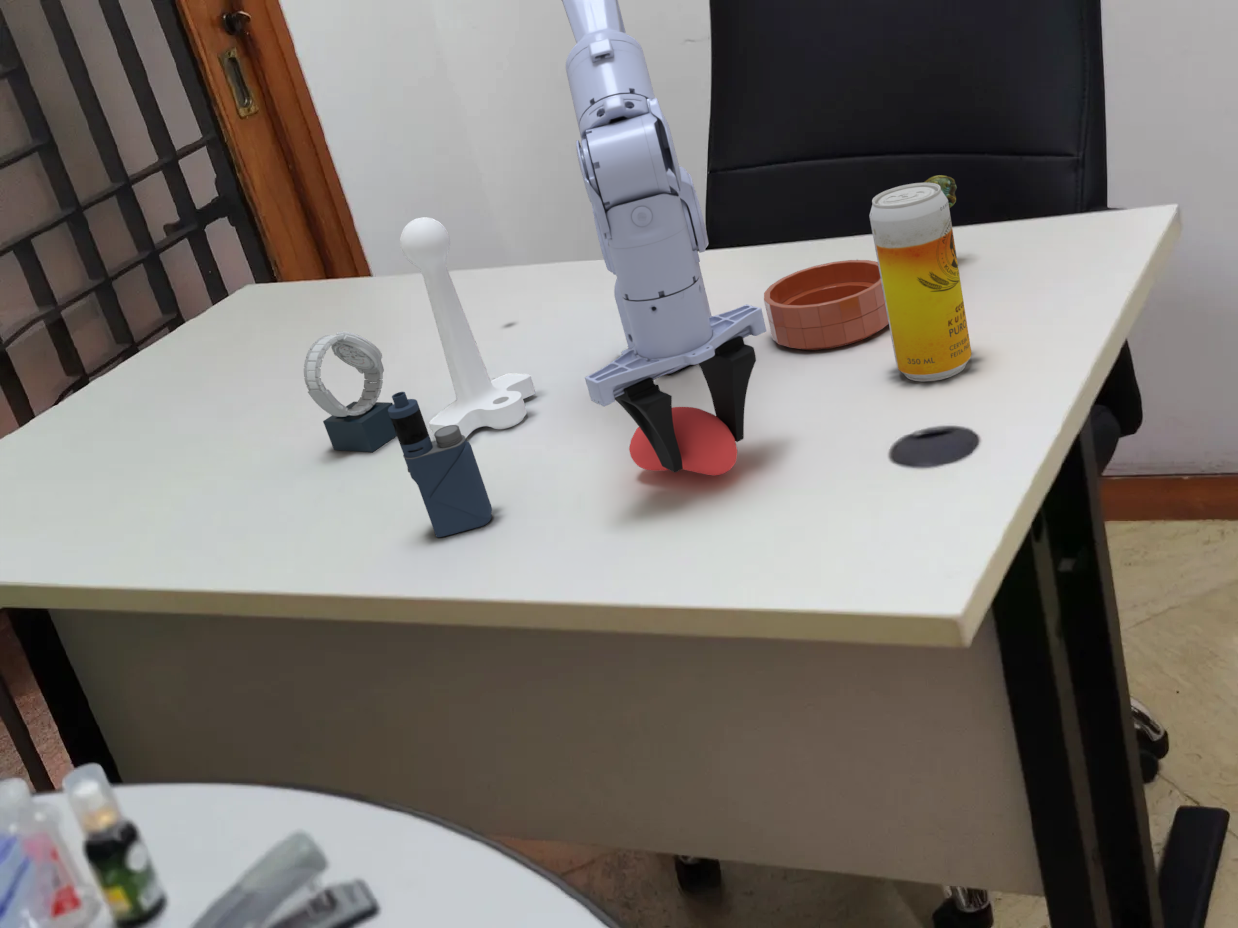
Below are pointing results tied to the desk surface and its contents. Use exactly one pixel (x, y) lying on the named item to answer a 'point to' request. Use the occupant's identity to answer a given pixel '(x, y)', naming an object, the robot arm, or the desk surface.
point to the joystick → (461, 342)
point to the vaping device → (441, 470)
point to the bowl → (827, 305)
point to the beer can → (920, 281)
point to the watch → (359, 420)
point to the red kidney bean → (691, 443)
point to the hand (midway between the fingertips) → (702, 452)
